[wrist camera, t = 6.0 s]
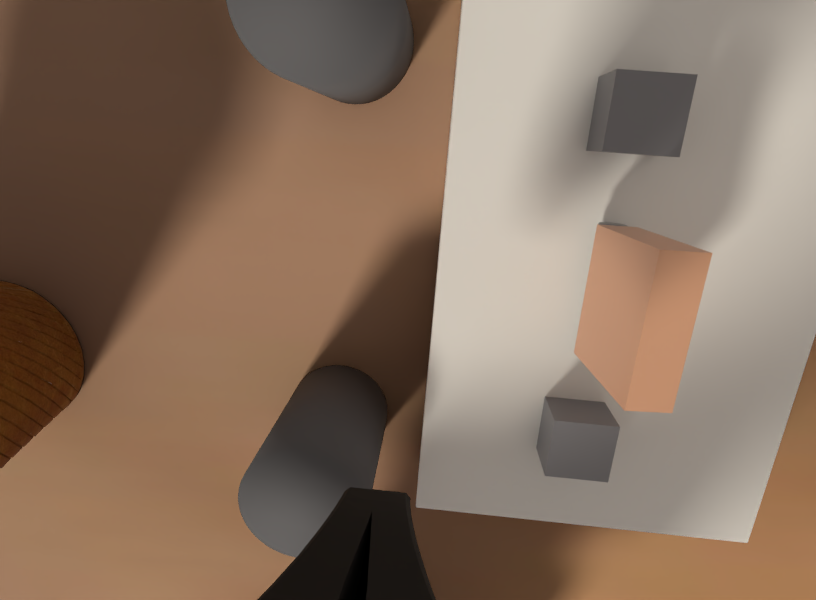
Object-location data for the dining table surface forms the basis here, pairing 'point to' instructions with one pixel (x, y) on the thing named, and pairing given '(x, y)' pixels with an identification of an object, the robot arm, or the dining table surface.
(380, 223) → the dining table surface
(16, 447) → the disposable coffee cup
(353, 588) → the robot arm
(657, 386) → the tan rectangular block
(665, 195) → the panel
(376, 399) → the post
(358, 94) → the post
